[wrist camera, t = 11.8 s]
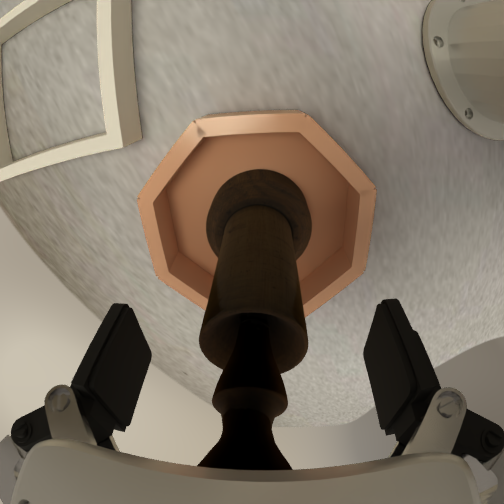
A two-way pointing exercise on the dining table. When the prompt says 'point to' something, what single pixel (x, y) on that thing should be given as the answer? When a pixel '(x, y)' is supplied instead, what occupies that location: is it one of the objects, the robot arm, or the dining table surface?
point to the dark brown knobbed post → (254, 312)
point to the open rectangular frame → (111, 82)
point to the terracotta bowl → (251, 158)
